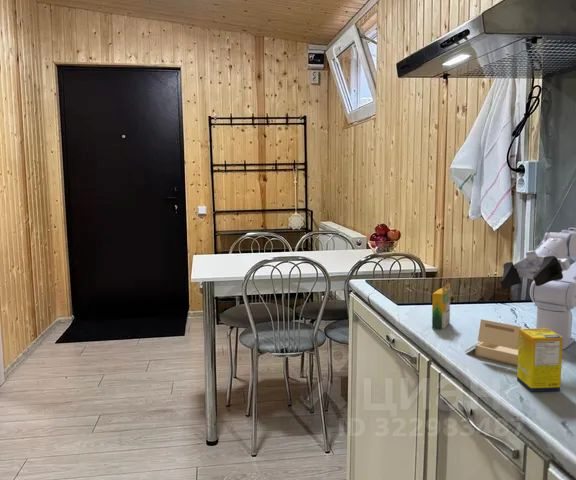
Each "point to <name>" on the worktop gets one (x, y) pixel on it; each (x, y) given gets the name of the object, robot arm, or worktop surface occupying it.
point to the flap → (499, 334)
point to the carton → (496, 353)
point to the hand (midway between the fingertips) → (519, 283)
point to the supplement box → (539, 359)
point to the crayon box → (441, 308)
